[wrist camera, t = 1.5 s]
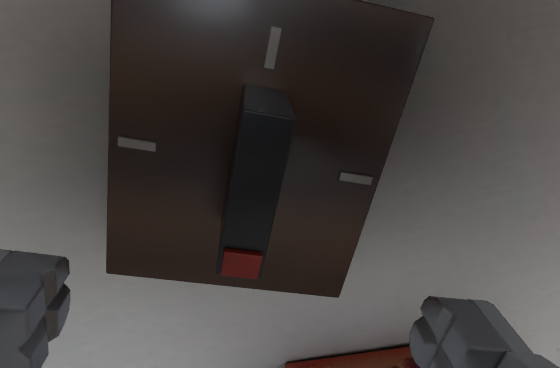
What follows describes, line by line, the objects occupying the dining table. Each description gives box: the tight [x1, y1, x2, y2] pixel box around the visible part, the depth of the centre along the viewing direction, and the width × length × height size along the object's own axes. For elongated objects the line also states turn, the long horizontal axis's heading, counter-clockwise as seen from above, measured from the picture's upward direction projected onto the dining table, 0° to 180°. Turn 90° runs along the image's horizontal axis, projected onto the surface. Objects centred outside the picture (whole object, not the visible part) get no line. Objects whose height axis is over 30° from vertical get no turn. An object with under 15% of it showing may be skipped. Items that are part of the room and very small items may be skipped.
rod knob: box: [216, 84, 297, 279], centre depth 14 cm, size 6×2×4 cm, turn 168°
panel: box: [106, 0, 434, 298], centre depth 17 cm, size 13×11×3 cm
